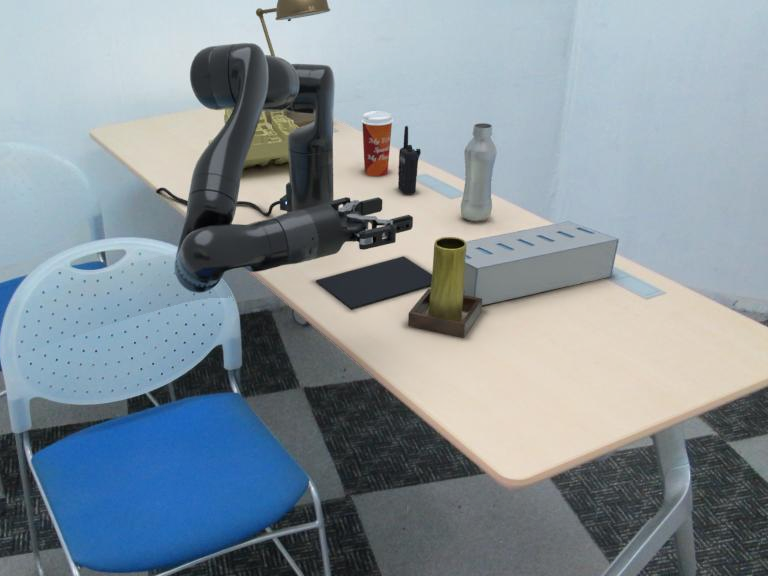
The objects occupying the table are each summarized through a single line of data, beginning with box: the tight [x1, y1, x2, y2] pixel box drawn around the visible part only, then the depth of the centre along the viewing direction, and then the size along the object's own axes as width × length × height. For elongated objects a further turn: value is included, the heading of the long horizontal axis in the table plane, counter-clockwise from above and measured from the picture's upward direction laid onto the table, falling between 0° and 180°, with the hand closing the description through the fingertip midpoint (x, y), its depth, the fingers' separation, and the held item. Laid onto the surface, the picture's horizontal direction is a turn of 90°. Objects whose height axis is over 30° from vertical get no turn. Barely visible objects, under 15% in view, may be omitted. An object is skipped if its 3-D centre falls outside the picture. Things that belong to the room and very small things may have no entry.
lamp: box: [255, 0, 331, 128], centre depth 241 cm, size 15×34×37 cm, turn 29°
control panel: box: [208, 109, 299, 170], centre depth 217 cm, size 24×16×20 cm
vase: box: [427, 236, 467, 321], centre depth 146 cm, size 6×6×14 cm
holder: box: [407, 288, 483, 338], centre depth 149 cm, size 10×10×3 cm
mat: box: [315, 256, 432, 310], centre depth 162 cm, size 20×13×1 cm, turn 118°
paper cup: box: [360, 110, 394, 177], centre depth 207 cm, size 8×8×14 cm
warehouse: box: [463, 221, 620, 306], centre depth 160 cm, size 30×14×8 cm, turn 112°
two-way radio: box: [397, 125, 422, 195], centre depth 196 cm, size 6×4×15 cm
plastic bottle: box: [459, 122, 498, 222], centre depth 180 cm, size 6×7×20 cm
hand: (395, 212), depth 133 cm, fingers open, 8 cm apart
